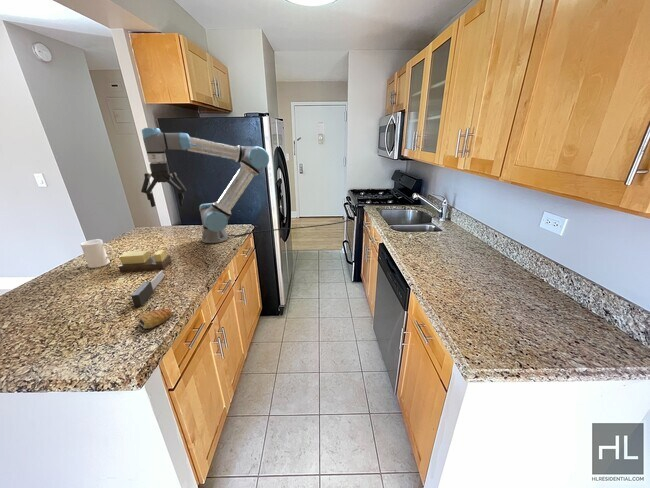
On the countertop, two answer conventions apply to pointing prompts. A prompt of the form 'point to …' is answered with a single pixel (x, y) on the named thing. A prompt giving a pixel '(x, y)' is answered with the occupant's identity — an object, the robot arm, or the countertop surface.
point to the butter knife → (146, 290)
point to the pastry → (154, 318)
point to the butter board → (145, 265)
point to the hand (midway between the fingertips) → (167, 205)
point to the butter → (134, 257)
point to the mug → (95, 253)
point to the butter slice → (160, 255)
